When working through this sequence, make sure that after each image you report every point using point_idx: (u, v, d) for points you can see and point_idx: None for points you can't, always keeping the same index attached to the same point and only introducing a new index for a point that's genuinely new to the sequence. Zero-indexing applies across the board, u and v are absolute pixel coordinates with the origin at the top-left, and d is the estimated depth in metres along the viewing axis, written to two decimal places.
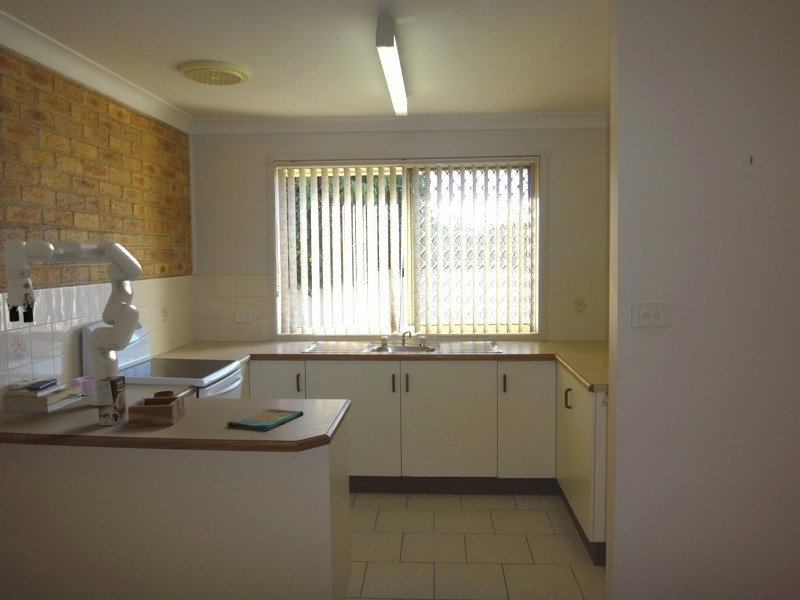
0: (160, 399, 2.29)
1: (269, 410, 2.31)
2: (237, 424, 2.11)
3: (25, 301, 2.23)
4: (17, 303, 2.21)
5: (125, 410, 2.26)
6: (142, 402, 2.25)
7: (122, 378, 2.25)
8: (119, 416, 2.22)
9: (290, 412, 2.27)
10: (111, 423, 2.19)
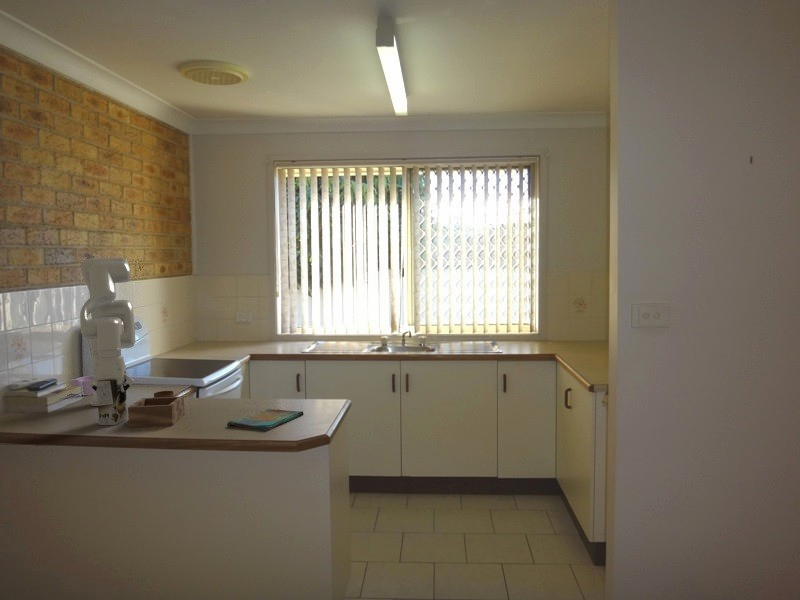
0: (160, 399, 2.29)
1: (269, 410, 2.31)
2: (237, 424, 2.11)
3: None
4: None
5: (125, 410, 2.26)
6: (142, 402, 2.25)
7: None
8: (119, 416, 2.22)
9: (290, 412, 2.27)
10: (111, 423, 2.19)
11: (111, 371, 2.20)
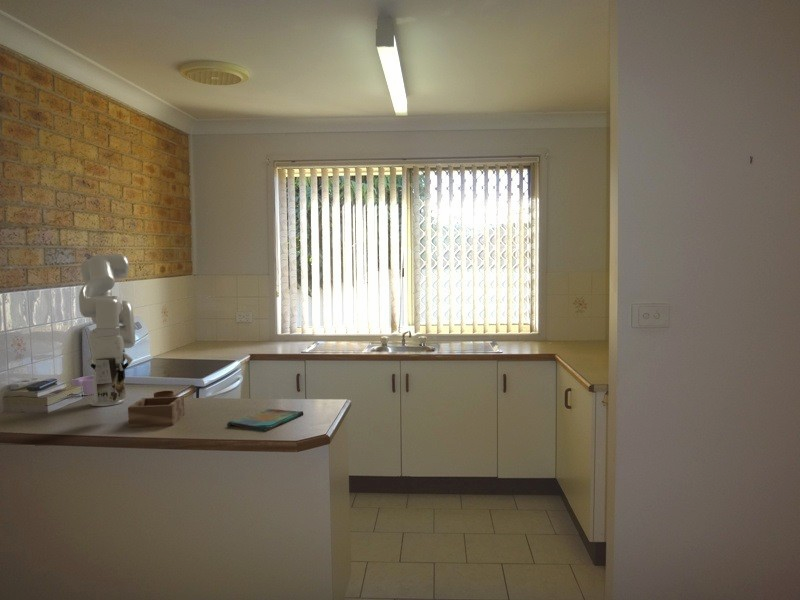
0: (160, 399, 2.29)
1: (269, 410, 2.31)
2: (237, 424, 2.11)
3: None
4: None
5: (124, 389, 2.27)
6: (142, 402, 2.25)
7: None
8: (118, 395, 2.22)
9: (290, 412, 2.27)
10: (110, 401, 2.19)
11: (110, 350, 2.19)
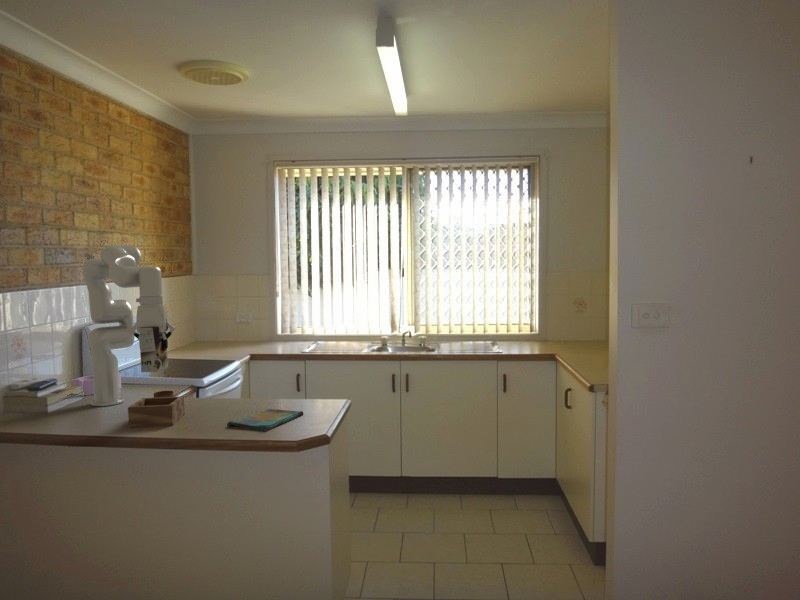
0: (160, 399, 2.29)
1: (269, 410, 2.31)
2: (237, 424, 2.11)
3: None
4: None
5: (166, 359, 2.25)
6: (142, 402, 2.25)
7: None
8: (161, 364, 2.21)
9: (290, 412, 2.27)
10: (153, 370, 2.18)
11: (153, 318, 2.18)
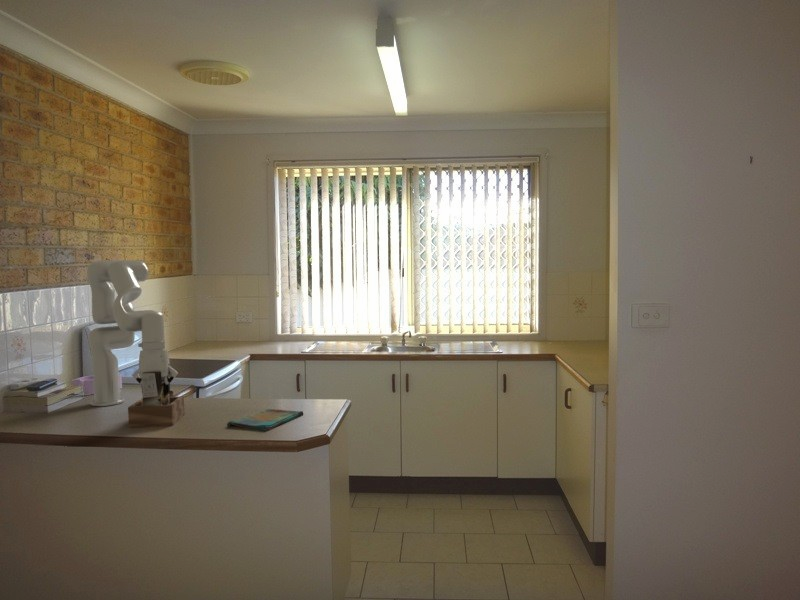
0: None
1: (269, 410, 2.31)
2: (237, 424, 2.11)
3: None
4: None
5: (168, 402, 2.26)
6: (142, 402, 2.25)
7: None
8: None
9: (290, 412, 2.27)
10: None
11: (156, 364, 2.20)
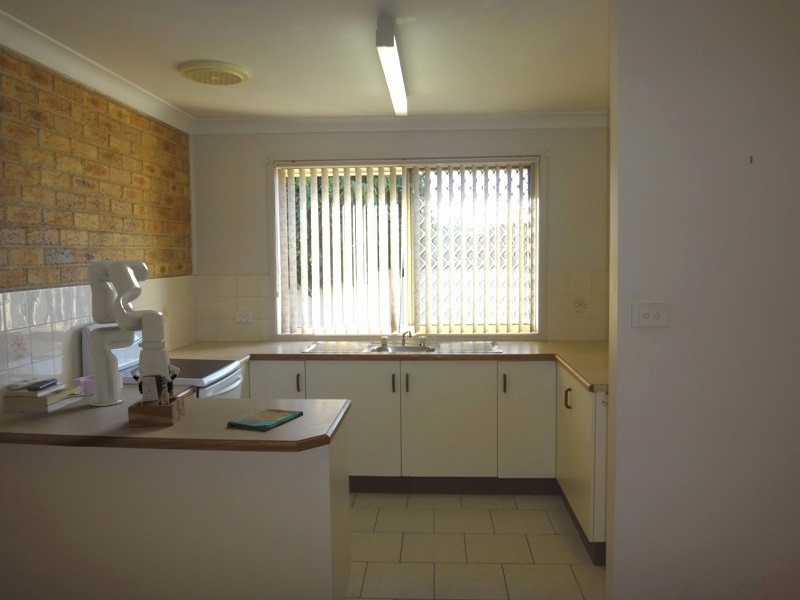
0: None
1: (269, 410, 2.31)
2: (237, 424, 2.11)
3: None
4: None
5: None
6: (142, 402, 2.25)
7: None
8: None
9: (290, 412, 2.27)
10: None
11: (156, 363, 2.19)
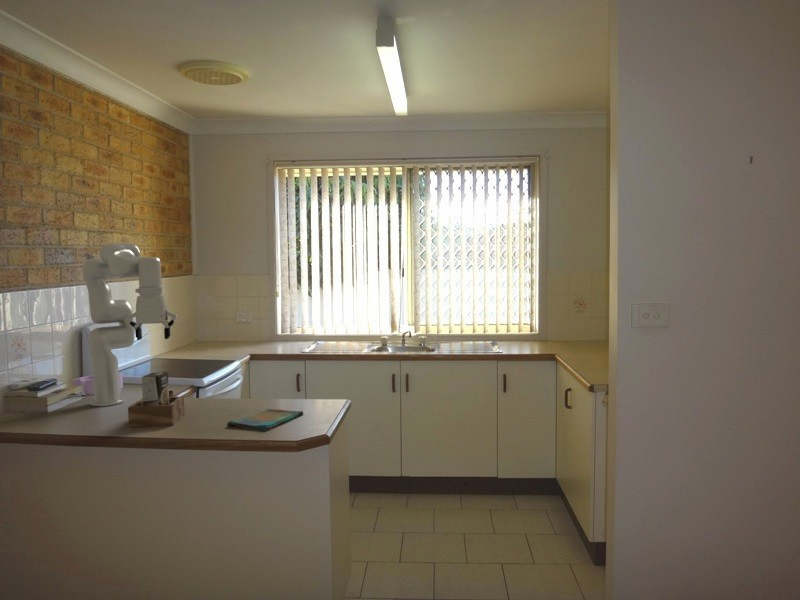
0: None
1: (269, 410, 2.31)
2: (237, 424, 2.11)
3: None
4: None
5: None
6: (142, 402, 2.25)
7: (166, 374, 2.25)
8: None
9: (290, 412, 2.27)
10: None
11: (153, 309, 2.18)
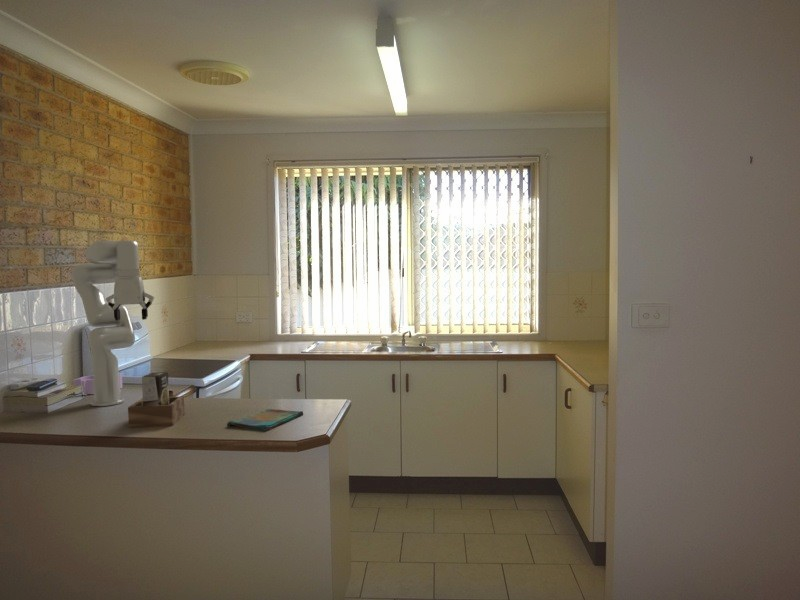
0: None
1: (269, 410, 2.31)
2: (237, 424, 2.11)
3: None
4: None
5: None
6: (142, 402, 2.25)
7: (166, 374, 2.25)
8: None
9: (290, 412, 2.27)
10: None
11: (130, 290, 2.27)
